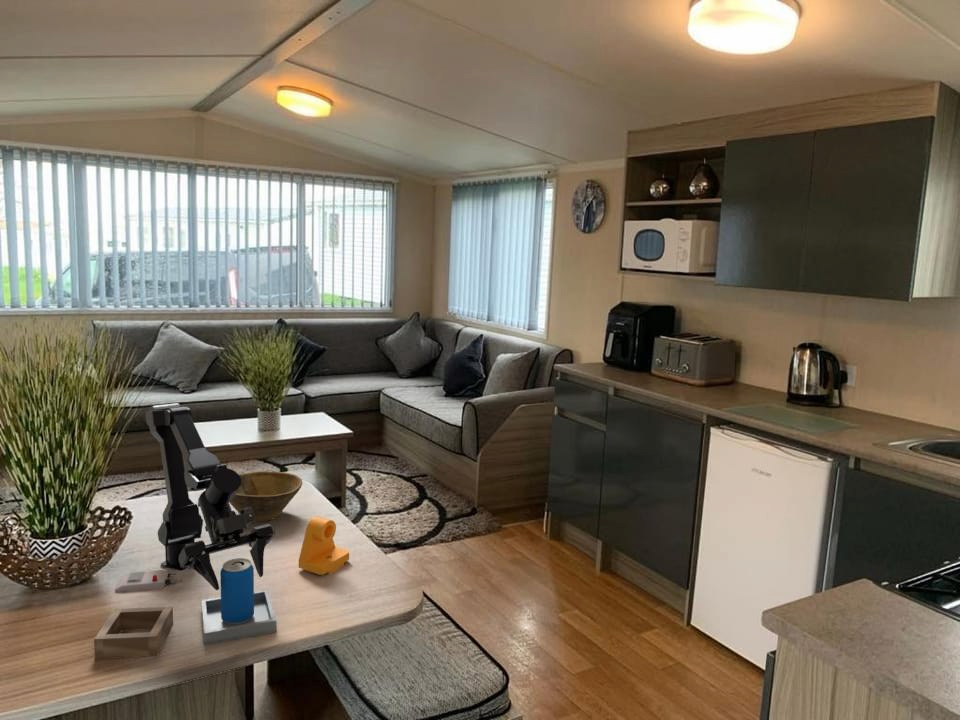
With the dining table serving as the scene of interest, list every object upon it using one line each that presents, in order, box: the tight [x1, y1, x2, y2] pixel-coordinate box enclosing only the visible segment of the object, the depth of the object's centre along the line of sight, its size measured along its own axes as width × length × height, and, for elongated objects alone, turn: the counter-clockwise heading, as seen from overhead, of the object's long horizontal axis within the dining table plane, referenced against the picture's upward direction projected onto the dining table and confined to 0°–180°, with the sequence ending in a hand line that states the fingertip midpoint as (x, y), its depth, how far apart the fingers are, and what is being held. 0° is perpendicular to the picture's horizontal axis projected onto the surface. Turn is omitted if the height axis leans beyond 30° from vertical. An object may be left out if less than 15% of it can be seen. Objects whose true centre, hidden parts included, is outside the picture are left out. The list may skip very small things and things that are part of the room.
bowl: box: [229, 470, 303, 523], centre depth 199 cm, size 22×23×10 cm
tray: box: [200, 589, 277, 646], centre depth 144 cm, size 14×14×2 cm
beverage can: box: [220, 557, 255, 625], centre depth 143 cm, size 6×6×12 cm
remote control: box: [114, 569, 184, 593], centre depth 158 cm, size 7×16×3 cm, turn 106°
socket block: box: [93, 605, 174, 660], centre depth 135 cm, size 11×11×4 cm
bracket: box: [298, 515, 350, 575], centre depth 169 cm, size 11×7×12 cm, turn 151°
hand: (240, 582), depth 141 cm, fingers open, 9 cm apart
